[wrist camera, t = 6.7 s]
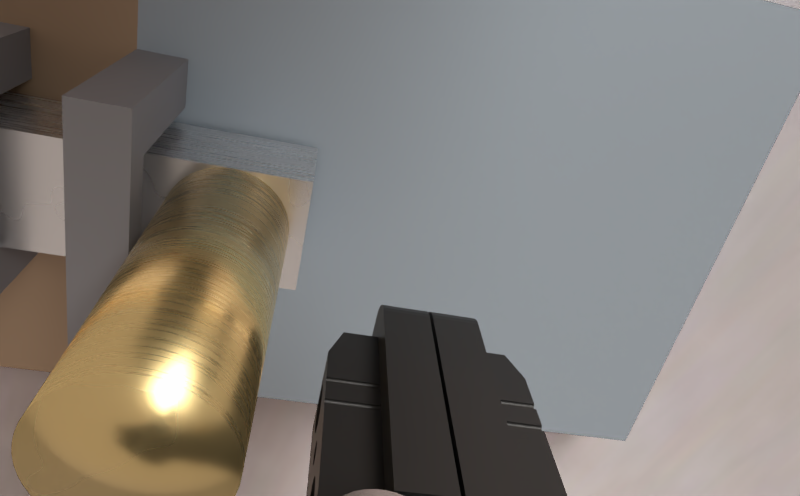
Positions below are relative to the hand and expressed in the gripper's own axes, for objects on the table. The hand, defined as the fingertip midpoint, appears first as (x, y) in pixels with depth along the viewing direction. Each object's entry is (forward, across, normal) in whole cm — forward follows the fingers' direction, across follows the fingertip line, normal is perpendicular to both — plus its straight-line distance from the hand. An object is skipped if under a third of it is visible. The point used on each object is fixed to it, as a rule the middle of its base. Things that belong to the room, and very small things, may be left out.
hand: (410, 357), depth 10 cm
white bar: (+5, +7, 0) cm, 9 cm away
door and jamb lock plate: (+7, +3, 0) cm, 8 cm away
